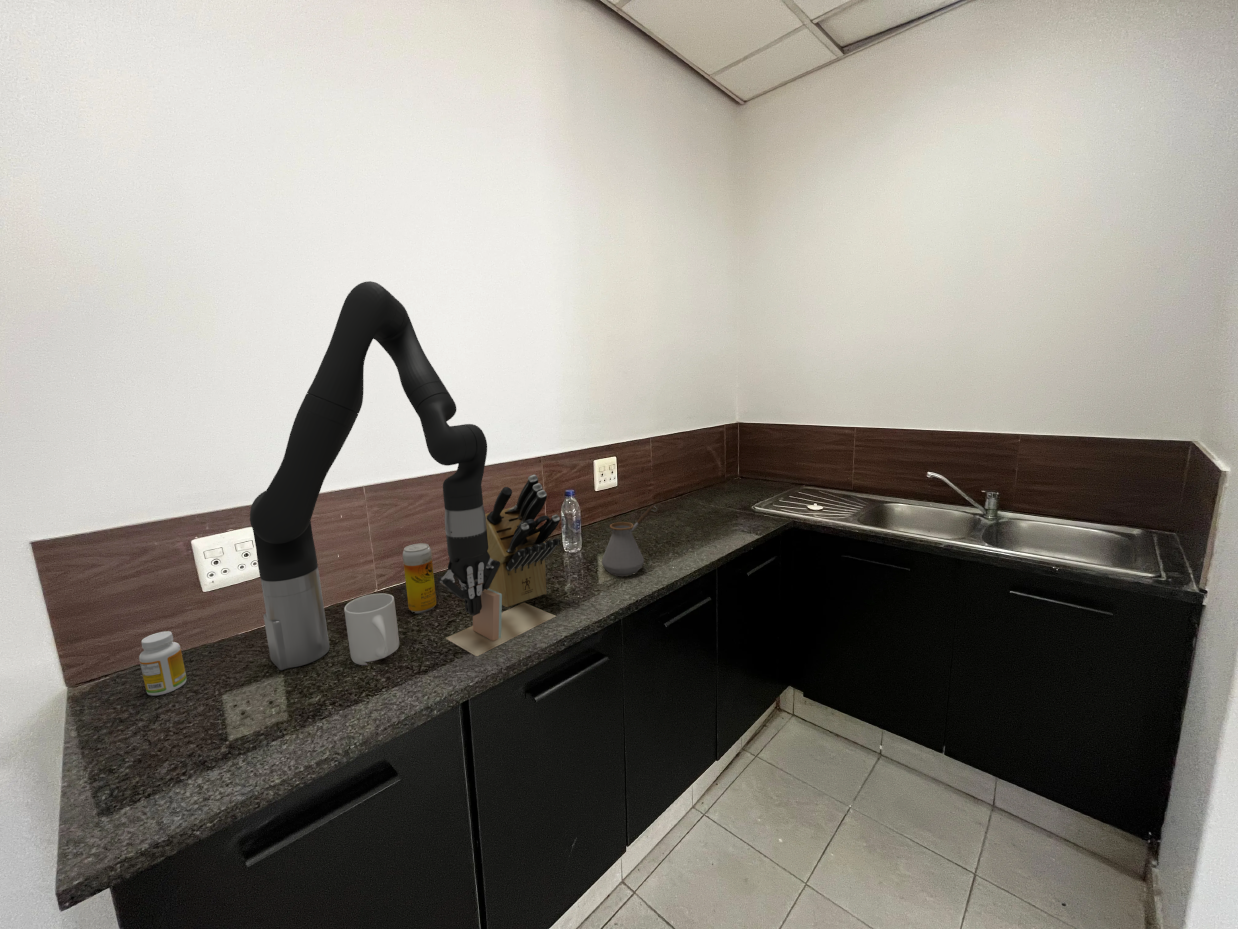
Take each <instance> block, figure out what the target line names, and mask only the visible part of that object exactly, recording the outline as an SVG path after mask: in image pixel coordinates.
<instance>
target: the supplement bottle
mask: <svg viewBox="0 0 1238 929" xmlns="http://www.w3.org/2000/svg"><path fill="white" fill-rule="evenodd" d="M140 642H141V647H142V649H143V651H141V652H140V654H139V657H138V660H139V665H140V669H141V673H142V678H143V679H142V680H143V681H144V682H143V683H144V687H145V692H146V694H147V695H148V696H162V695H165V694H168V693H171V692H173V691H175V690H177V689H179V688H181V687H182V686H183V685H185V684H186V683H187V674H186V673H187V672H186V667H185V663H184V658H183V653H182V649H181V645H180V643H178V642H175V641H174V636H173V633H172V631H170V630H169V631H165V630H164V631H160V632H156V633H153V634H150V635H147V636H146V637H144V638H142V640H141V641H140Z"/></svg>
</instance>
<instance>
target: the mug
mask: <svg viewBox="0 0 1238 929" xmlns="http://www.w3.org/2000/svg"><path fill="white" fill-rule="evenodd" d="M343 610H344V616H345V617H344V618H345V625H346V632H347V640H348V645H349V646H348V647H349V653H350V658H351V660H352V661H353V663H354V664H356V665H360V666H369V664H368V663H367V662H374V661H378V660H381V659H384V658H387V657H388V656H390V655H392V654H393V653H395V652H396V651H397V650H398V649H399V647H400V638H399V629H398V619H397V613H396V612H397V611H396V603H395V597H394V596H393V595H392V594H389V593H384V592H383V593H382V592H381V593H372V594H366V595H363V596H360V597H356V598H355V599H353V600H351V601H349V602H348V603H346V605H345V606H344V608H343Z"/></svg>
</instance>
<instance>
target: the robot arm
mask: <svg viewBox="0 0 1238 929" xmlns="http://www.w3.org/2000/svg"><path fill="white" fill-rule="evenodd" d="M416 333H417V332H416V331H415V328H414V326H413V323H412V321H411V318H410V315H409V314H408V311H407V309H406V307H405V306H404V304H402V303H401V302H400V300H399V299H397V298H396V297H395V296H394V295H393V294H392V293H391V292H389V290H387V288H385V287H384V286H382V285H381V284H380V283H378V282H375V281H363V282H361V283H358V284H357V285H356V286H354V287H353V288H352V289H350V292H349V293H347V296H346V298H345V299H344V302H343V304H342V306H341V310H340V312H339V314H338V318H337V322H336V324H335V327H334V331H333V333H332V336H331V339H330V342H329V344H328V347H327V349H326V352H325V353H324V356H323V358H322V360H321V363H320V365H319V368H318V370H317V372H316V374H315V375H314V378H313V380H312V383H311V384H310V386H309V388H308V390H307V392H306V394H305V396H304V398H303V399H302V402H301V404H300V406H299V408H298V410H297V412H296V415H295V418H294V420H293V424H292V426H291V431H290V433H289V436H288V441H287V445H286V448H285V451H284V455H283V458H282V461H281V463H280V465H279V467H278V470H277V472H276V473H275V475H274V476H273V479H272V480H271V481H270V483H269V485H268V487H267V489H266V490H264V491H263V492H261V493H259V494H258V496H256V498H255V499H254V500H253V501H252V504H251V506H250V511H249V522H250V523H249V524H250V527H251V528H252V533H253V538H254V543H255V544H254V545H255V551H256V558H257V566H258V572H259V577H260V583H261V584H260V585H261V589H262V596H263V603H264V610H265V613H263V622H264V628H265V633H266V639H267V646H268V651H269V657H270V660H271V662H272V663H273V664H274V666H276V667H277V668H278V670H279V671H283V670H286V669H290V668H297V667H301V666H304V665H308V664H311V663H313V662H316V661H317V660H319V659H322V657H324V656H325V655H326V654H327V653H328V652H329V651H330V639H329V636H328V627H327V621H326V613H325V608H324V607H325V605H324V598H323V593H322V592H323V591H322V586H321V585H322V584H321V578H320V572H319V564H318V558H317V552H316V546H315V542H314V535H313V527H312V521H311V520H312V518H313V514H314V510H315V507H316V503H317V501H318V498H319V494H320V492H321V488H322V486H323V484H324V481H325V479H326V477H327V475H328V473H329V471H330V469H331V468H332V465H333V464H334V462H335V461H336V459H337V457H338V456H339V454H340V452H341V450H342V448H343V446H344V445H345V443H346V441H347V439H348V437H349V435H350V433H351V432H352V428H353V427H354V425H355V422H356V420H357V419H358V416H359V414H360V412H361V409H362V406H363V402H364V370H365V369H364V367H365V362H366V361H365V360H366V356H367V353H368V350H370V346H371V344H372V342H373V340H374V341H376V342H377V343H378V344H379V345H380V346H381V347H382V348H383V350H384V351H385V352H386V353H387V354H388V356H389V357H390V358H391V360H392V361H393V363H394V366H396V370H397V372H398V376H399V380H400V384H401V387H402V389H403V392H404V394H405V396H406V398H407V399H408V401H409V403H410V404H411V406H412V408H413V409H414V411H415V413H416V415H417V416H418V418H419V419H420V420H419V421H420V425H421V428H422V431H423V435H424V439H425V440H424V441H425V444H426V448H427V451H428V453H429V455H430V456H431V458H432V459H433V460H434V461H435V462H437V463H438V464H440V465H442V466H447V467H448V466H453V465H457V469H456V471H455V472H454V473H453V474H452V475H450V476H448V477H447V478H446V479H444V480H443V483H442V493H443V494H442V495H443V506H444V530H445V537H446V538H445V539H446V548H447V554H448V559H449V561H448V565H447V569H448V570H447V571H446V572H445V574H444V575H440V576H439V577H438V578H437V582H438V583H439V584H441V586H443V587H444V588H446V590H448V591H449V592H450V593H451V594H452V595H454V596H455V597H457V598H459V599H462V600H464V608H465V612H466V613H468V615H470V616H472V617H473V616H474V615H477V614H479V613H480V610H481V608H482V603H481V594H482V592H483V591H484V590H487V589H489V587H490V585H491V583H492V581H493V579H494V577H495V574H496V572H497V570H498V568H499V566H500V562H499V561H497V560H494V559H491V558H490V555H489V553H488V551H487V550H488V538H487V527H486V516H485V514H486V511H485V508H484V501H483V500H484V499H483V488H482V484H483V483H482V482H483V478H484V477H483V476H484V473H485V466H486V460H487V456H488V442H487V438H486V435H485V433H484V431H483V430H482V429H481V427H479V426H478V425H476V424H473V423H464V424H458V425H451V426H450V425H449V424H448V421H450V420H451V419H452V418H453V417H454V416H455V415H456V412H457V404H456V402H455V401H454V398H453V397H452V395H451V394H450V392H449V390H448V389H447V387H446V386H445V384H444V382H443V380H442V379H441V378H440V376H439V374H438V373H437V371H436V370H435V368H434V366H433V365H432V364H431V362H430V360H429V359H428V357H427V355H426V353H425V351H424V349H423V348H422V346H421V343H420V341H419V338H418V336H417V334H416ZM454 577H455V578H456V579H457V580H458V583H459V585H460V587H461V588H460V587H459V586H458V585H457V584H455V582H456V580H455V578H454Z"/></svg>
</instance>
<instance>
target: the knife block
mask: <svg viewBox="0 0 1238 929" xmlns="http://www.w3.org/2000/svg"><path fill="white" fill-rule="evenodd" d="M512 495H513V490H512V488H511V487H508V486H505V487H503V488H502V489H501V491H500V492H499V494H498V496H496V499H495V502H494V506H493V510H492V511H490V512H488V513H485V516H486V527H487V538H488V550H487V551H488V553H489V555H490V558H491V559H494V560H497V561H499V562H500V566H499V568H498V570H497V572H496V574H495V577H494V579H493V581H492V583H491V585H490V587H489V589H491V590H494V591H496V592H498V593H501V594H502V607H505V608H510V607H512V606H514V605H515V606H516V605H517V604H518V605H519V604H522V603H525V602H526V601H528V600H529V601H530V600H532V599H535V598H537V597H540V596H542V595H547V577H546V561H545V559H546V558H547V557H549V556H550V554H552V552H554V550H555V548H557V547H558V546H559V545H561V539H560V538H553V539H551V540H550V539H549V540H547V539H548V538H549V537H550V536H551V534H553V533H554V531H555V530H556V529H557V527H558V525H559V524H560V522H561V517H560V515H558V514H553V515H552V516H551V518H550V516H548V515H541V516H539V517H538V515H539V514H540V513H541V511H542V509H543V507H544V506H545V504H546V501H547V497H548V494H547V492H546V491H545V489H544V488H543V485H542V484H541V483H539V478H538V476H537V475H536V474H532V475H529V476H528V478H527V482H526V483H525V485H524V486H523V487H522V490H521V491H520V494H519V496H518V499H517V502H516V504H515V505H514V506H512V507H508V508H505V507H506V505H507V503H508V502H509V501H510V499H511V497H512ZM537 517H538V518H537ZM544 521H545V522H544ZM543 522H544V523H543ZM542 523H543V524H542ZM541 524H542V525H541ZM540 525H541V526H540ZM546 540H547V541H546Z"/></svg>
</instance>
